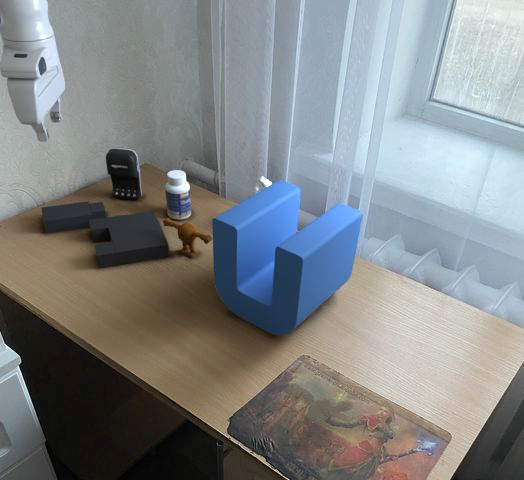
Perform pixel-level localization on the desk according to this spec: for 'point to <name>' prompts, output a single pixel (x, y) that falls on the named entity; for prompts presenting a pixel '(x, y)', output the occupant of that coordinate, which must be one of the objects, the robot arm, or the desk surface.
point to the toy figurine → (187, 236)
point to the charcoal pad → (71, 216)
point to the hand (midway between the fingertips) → (50, 130)
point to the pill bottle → (178, 195)
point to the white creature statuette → (261, 184)
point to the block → (281, 257)
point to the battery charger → (124, 173)
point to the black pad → (128, 239)
